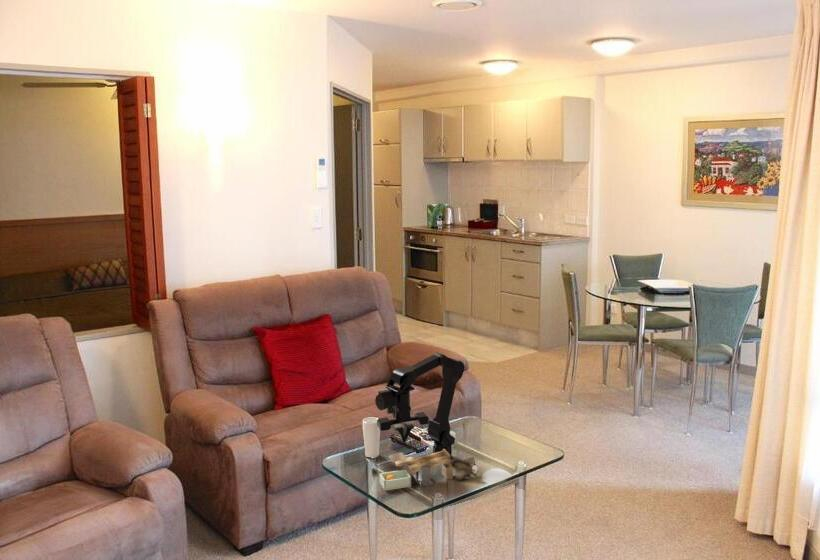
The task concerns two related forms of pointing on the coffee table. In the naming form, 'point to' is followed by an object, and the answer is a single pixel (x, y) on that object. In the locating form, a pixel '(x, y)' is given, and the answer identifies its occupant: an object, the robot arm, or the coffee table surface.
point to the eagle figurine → (466, 467)
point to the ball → (390, 477)
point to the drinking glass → (371, 436)
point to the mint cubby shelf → (395, 480)
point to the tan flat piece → (421, 460)
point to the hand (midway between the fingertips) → (403, 442)
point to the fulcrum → (424, 474)
